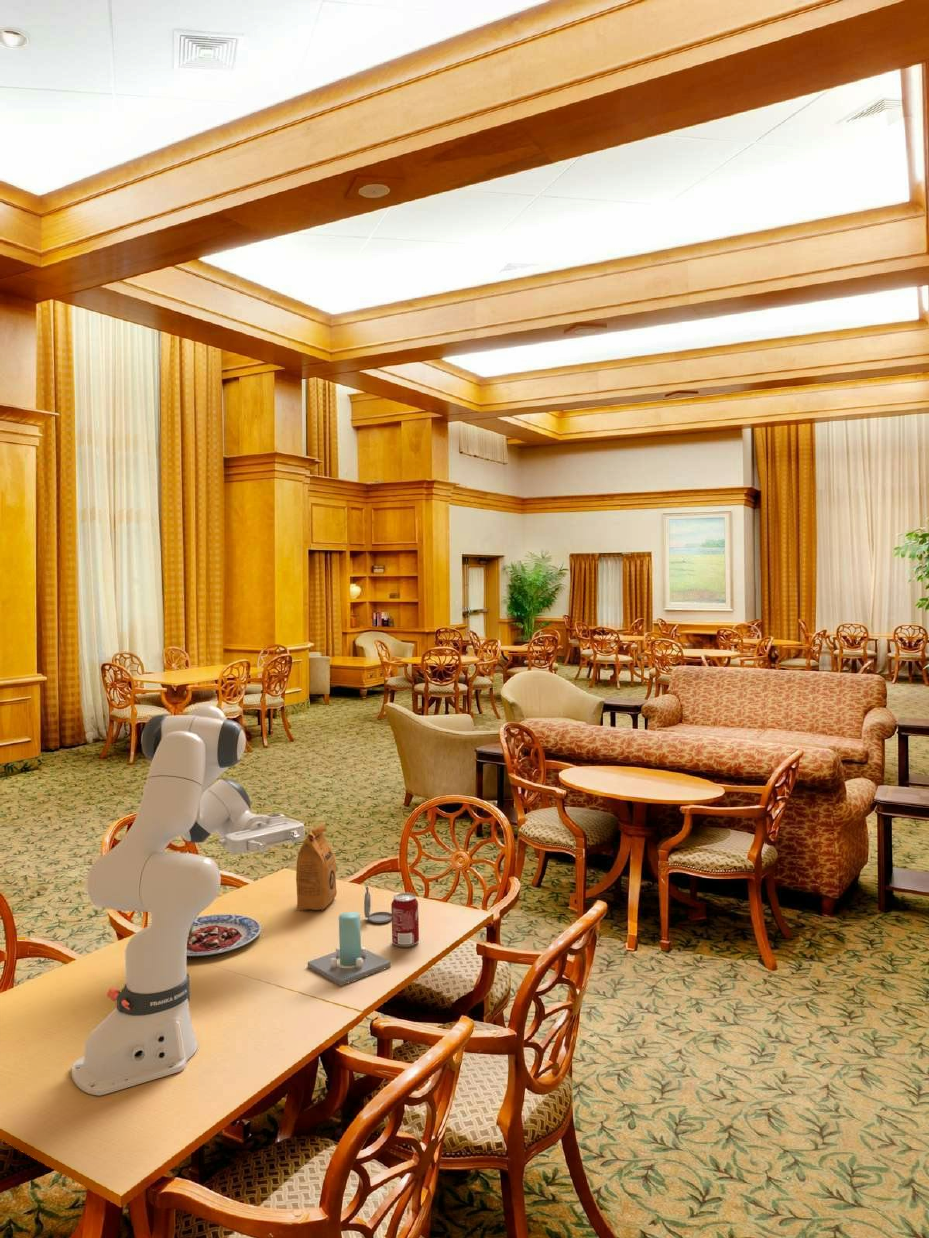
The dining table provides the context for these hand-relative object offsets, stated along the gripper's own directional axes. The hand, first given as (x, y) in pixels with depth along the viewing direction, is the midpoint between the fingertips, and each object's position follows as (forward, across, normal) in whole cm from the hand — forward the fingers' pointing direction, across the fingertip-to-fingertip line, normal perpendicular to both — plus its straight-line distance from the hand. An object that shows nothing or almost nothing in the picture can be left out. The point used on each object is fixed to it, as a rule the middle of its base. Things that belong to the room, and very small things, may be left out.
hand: (281, 843), depth 205 cm
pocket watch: (-3, +30, +28) cm, 41 cm away
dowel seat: (+16, +8, +28) cm, 33 cm away
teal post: (+17, +8, +27) cm, 32 cm away
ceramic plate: (-22, -9, +28) cm, 37 cm away
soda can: (+15, +26, +28) cm, 41 cm away
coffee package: (-24, +25, +28) cm, 45 cm away
